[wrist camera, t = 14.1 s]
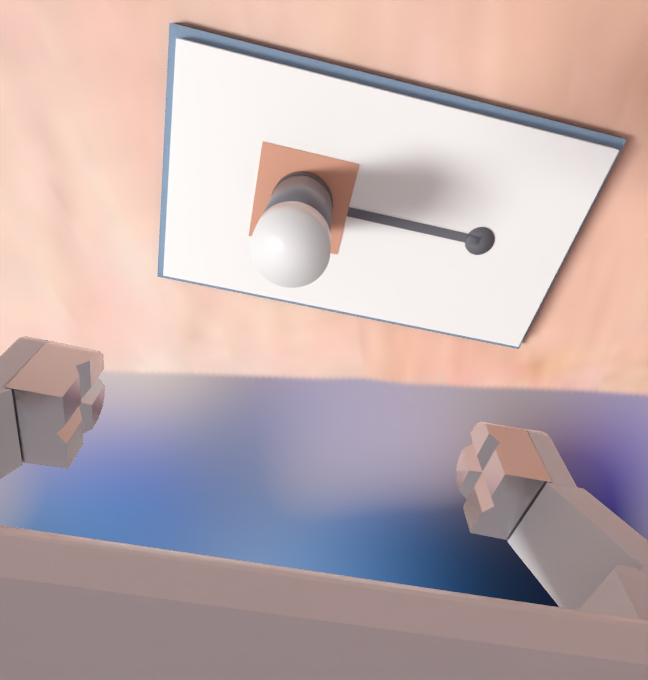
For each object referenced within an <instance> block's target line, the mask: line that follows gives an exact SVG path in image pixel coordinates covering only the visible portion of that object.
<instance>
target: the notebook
mask: <svg viewBox="0 0 648 680" xmlns="http://www.w3.org/2000/svg"><path fill="white" fill-rule="evenodd" d="M625 142H626V139H623V138H621V137H617V136H613V135H609V134H605V133H601V132H597V131H593V130H589V129H585V128H582V127H578V126H574V125H570V124H566V123H562V122H558V121H554V120H550V119H546V118H542V117H539V116H535V115H531V114H527V113H523V112H519V111H515V110H511V109H507V108H503V107H500V106H496V105H492V104H488V103H484V102H480V101H476V100H472V99H468V98H464V97H460V96H457V95H453V94H449V93H445V92H441V91H437V90H433V89H429V88H425V87H421V86H417V85H414V84H410V83H406V82H402V81H398V80H394V79H390V78H386V77H382V76H378V75H374V74H371V73H367V72H363V71H359V70H355V69H351V68H347V67H343V66H339V65H335V64H331V63H328V62H324V61H320V60H316V59H312V58H308V57H304V56H300V55H296V54H292V53H289V52H285V51H281V50H277V49H273V48H269V47H265V46H261V45H257V44H253V43H249V42H246V41H242V40H238V39H234V38H230V37H226V36H222V35H218V34H214V33H210V32H206V31H203V30H199V29H195V28H191V27H187V26H183V25H179V24H175V23H170V26H169V47H168V68H167V89H166V110H165V131H164V152H163V173H162V194H161V215H160V236H159V257H158V277H163V278H168V279H173V280H178V281H183V282H188V283H193V284H198V285H203V286H208V287H213V288H218V289H223V290H228V291H233V292H238V293H243V294H248V295H253V296H258V297H263V298H268V299H273V300H278V301H283V302H288V303H293V304H298V305H303V306H308V307H313V308H318V309H322V310H327V311H332V312H337V313H342V314H347V315H352V316H357V317H362V318H367V319H372V320H377V321H382V322H387V323H392V324H397V325H402V326H407V327H412V328H417V329H422V330H427V331H432V332H437V333H442V334H447V335H452V336H457V337H462V338H467V339H472V340H477V341H482V342H487V343H492V344H497V345H502V346H507V347H512V348H517V349H519V347H520V346H521V344H522V342H523V340H524V338H525V336H526V334H527V332H528V330H529V328H530V326H531V324H532V322H533V320H534V318H535V316H536V315H537V313H538V311H539V309H540V307H541V305H542V303H543V301H544V299H545V297H546V295H547V293H548V291H549V289H550V287H551V285H552V284H553V282H554V280H555V278H556V276H557V274H558V272H559V270H560V268H561V266H562V264H563V262H564V260H565V258H566V256H567V254H568V253H569V251H570V249H571V247H572V245H573V243H574V241H575V239H576V237H577V235H578V233H579V231H580V229H581V227H582V225H583V223H584V222H585V220H586V218H587V216H588V214H589V212H590V210H591V208H592V206H593V204H594V202H595V200H596V198H597V196H598V194H599V192H600V191H601V189H602V187H603V185H604V183H605V181H606V179H607V177H608V175H609V173H610V171H611V169H612V167H613V165H614V163H615V162H616V160H617V158H618V156H619V154H620V152H621V150H622V148H623V146H624V144H625ZM297 171H305V172H310V173H313V174H315V175H317V176H318V177H320V178H321V179H322V180H323V181H324V182H325V183H326V184H327V186H328V187H329V189H330V191H331V194H332V199H333V207H332V217H331V232H330V233H331V250H330V259H329V263H328V266H327V267H326V269H325V271H324V272H323V274H322V275H321V276H320V277H319V278H318V279H317V280H315V281H314V282H312V283H310V284H308V285H306V286H302V287H297V288H287V287H282V286H278V285H276V284H273V283H271V282H270V281H268V280H267V279H265V278H264V277H263V276H262V275H261V274H260V273H259V272H258V271H257V269H256V267H255V266H254V264H253V262H252V259H251V255H250V240H251V236H252V234H253V232H254V229H255V227H256V225H257V223H258V221H259V219H260V217H261V216H262V215H263V213H264V211H265V209H266V206H267V204H268V202H269V200H270V198H271V195H272V192H273V190H274V188H275V186H276V184H277V183H278V182H279V181H280V180H281V179H282V178H283V177H284V176H286V175H288V174H290V173H293V172H297Z"/></svg>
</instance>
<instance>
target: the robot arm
mask: <svg viewBox="0 0 648 680" xmlns="http://www.w3.org/2000/svg"><path fill="white" fill-rule="evenodd" d="M103 369H104V361H103V354H102V353H101V352H100V351H96V350H91V349H87V348H82V347H77V346H72V345H67V344H62V343H57V342H53V341H51V342H50V341H47V340H42V339H36V338H31V337H22V338H19V339H18V340H17V341H16V342H15V343H14V344H12V345H11V346H10V347H9V348H8V349H7V350H6V351H5V352H4V353H3V354H2V355H1V356H0V479H1V478H2V477H4V476H5V475H7V474H9V473H10V472H12V471H13V470H15V469H16V468H18V467H20V466H21V465H22V462H23V463H31V464H38V465H46V466H53V467H61V468H69V466H70V465H71V463H72V461H73V460H74V458H75V457H76V455H77V453H78V452H79V450H80V448H81V447H82V445H83V433H85V432H87V431H89V430H91V429H92V428H93V427H94V425H95V424H96V422H97V420H98V418H99V415H100V412H101V409H102V406H103V400H104V384H103V383H102V382H101V380H100V379H99V378H98V376H99V375H100V373H101V372H102V370H103ZM470 436H471V439H472V442H473V443H472V444H470V445H469V446H467V447H465V448H463V449H462V451H461V454H460V456H459V458H458V461H457V467H456V482H457V486H458V490H459V491H460V492H461V493H462V494H463V495H464V496H465V498H466V499H467V501H466V503H465V505H464V506H463V508H464V512H465V515H466V519H467V522H468V526H469V530H470V533H475V534H479V535H485V536H490V537H496V538H500V539H506V540H508V543H509V544H510V545H511V547H512V548H513V549H514V550H515V552H516V553H517V554H518V555H519V557H520V558H521V559H522V560H523V562H524V563H525V564H526V566H527V567H528V568H529V569H530V571H531V572H532V573H533V574H534V575H535V577H536V578H537V579H538V581H539V582H540V583H541V584H542V586H543V587H544V588H545V589H546V591H547V592H548V593H549V594H550V596H551V597H552V598H553V599H554V601H555V602H556V603H557V604H558V606H559V607H553V606H546V605H538V604H532V603H525V602H518V601H511V600H505V599H498V598H491V597H484V596H477V595H470V594H464V593H457V592H450V591H444V590H436V589H430V588H423V587H416V586H410V585H403V584H396V583H389V582H382V581H376V580H369V579H362V578H355V577H349V576H341V575H335V574H328V573H321V572H314V571H308V570H301V569H294V568H287V567H280V566H274V565H267V564H260V563H252V562H246V561H239V560H233V559H226V558H219V557H212V556H205V555H198V554H191V553H184V552H178V551H171V550H164V549H156V548H150V547H143V546H137V545H130V544H123V543H116V542H109V541H103V540H96V539H89V538H82V537H75V536H69V535H62V534H54V533H47V532H41V531H35V530H27V529H21V528H13V527H7V526H0V680H648V541H647V540H646V539H645V538H643V537H642V536H641V535H640V534H639V533H637V532H636V531H635V530H634V529H632V528H631V527H630V526H629V525H627V524H626V523H625V522H624V521H623V520H621V519H620V518H619V517H618V516H617V515H615V514H614V513H613V512H612V511H610V510H609V509H608V508H607V507H605V506H604V505H603V504H602V503H601V502H599V501H598V500H597V499H596V498H594V497H593V496H592V495H591V494H590V493H588V492H587V491H586V490H585V489H582V488H577V487H576V485H575V483H574V481H573V479H572V477H571V475H570V473H569V472H568V470H567V468H566V466H565V464H564V462H563V460H562V459H561V457H560V455H559V453H558V451H557V449H556V448H555V446H554V444H553V442H552V440H551V438H550V437H549V435H548V434H546V433H545V432H542V431H535V430H529V429H519V428H513V427H508V426H502V425H496V424H491V423H485V422H478V424H476V425H475V426H474V428H473V430H472V432H471V433H470Z"/></svg>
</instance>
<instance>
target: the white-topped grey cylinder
mask: <svg viewBox="0 0 648 680" xmlns="http://www.w3.org/2000/svg"><path fill="white" fill-rule="evenodd" d="M332 207H333V199H332V194H331V191H330V189H329V187H328V186H327V184H326V183H325V182H324V181H323V180H322V179H321V178H320V177H318V176H317V175H315V174H313V173H310V172H305V171H297V172H293V173H290V174H288V175H286V176H284V177H283V178H282V179H281V180H280V181H279V182H278V183H277V184H276V186H275V188H274V190H273V192H272V195H271V198H270V200H269V202H268V204H267V206H266V209H265V211H264V213H263V215H262V216H261V217H260V219H259V221H258V223H257V225H256V227H255V229H254V232H253V234H252V236H251V240H250V255H251V259H252V262H253V264H254V266H255V267H256V269H257V271H258V272H259V273H260V274H261V275H262V276H263V277H264V278H265V279H267V280H268V281H270V282H271V283H273V284H276V285H278V286H282V287H287V288H297V287H302V286H306V285H308V284H310V283H312V282H314V281H315V280H317V279H318V278H319V277H320V276H321V275H322V274H323V272H324V271H325V269H326V267H327V266H328V263H329V259H330V250H331V233H330V232H331V217H332Z"/></svg>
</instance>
